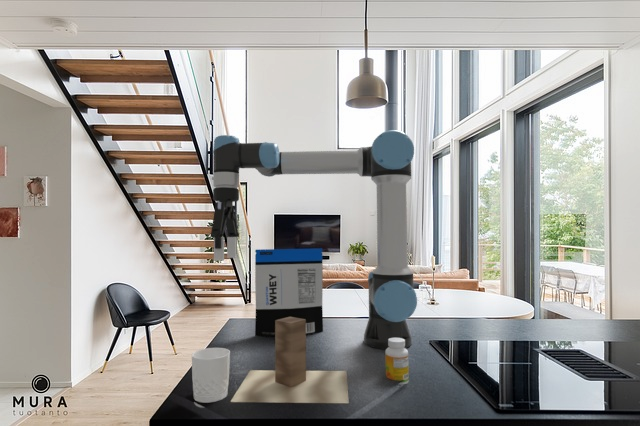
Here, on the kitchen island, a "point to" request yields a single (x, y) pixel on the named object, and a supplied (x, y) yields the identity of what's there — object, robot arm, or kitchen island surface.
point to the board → (294, 388)
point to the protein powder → (288, 288)
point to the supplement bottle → (397, 360)
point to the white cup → (210, 374)
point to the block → (290, 351)
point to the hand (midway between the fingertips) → (225, 259)
